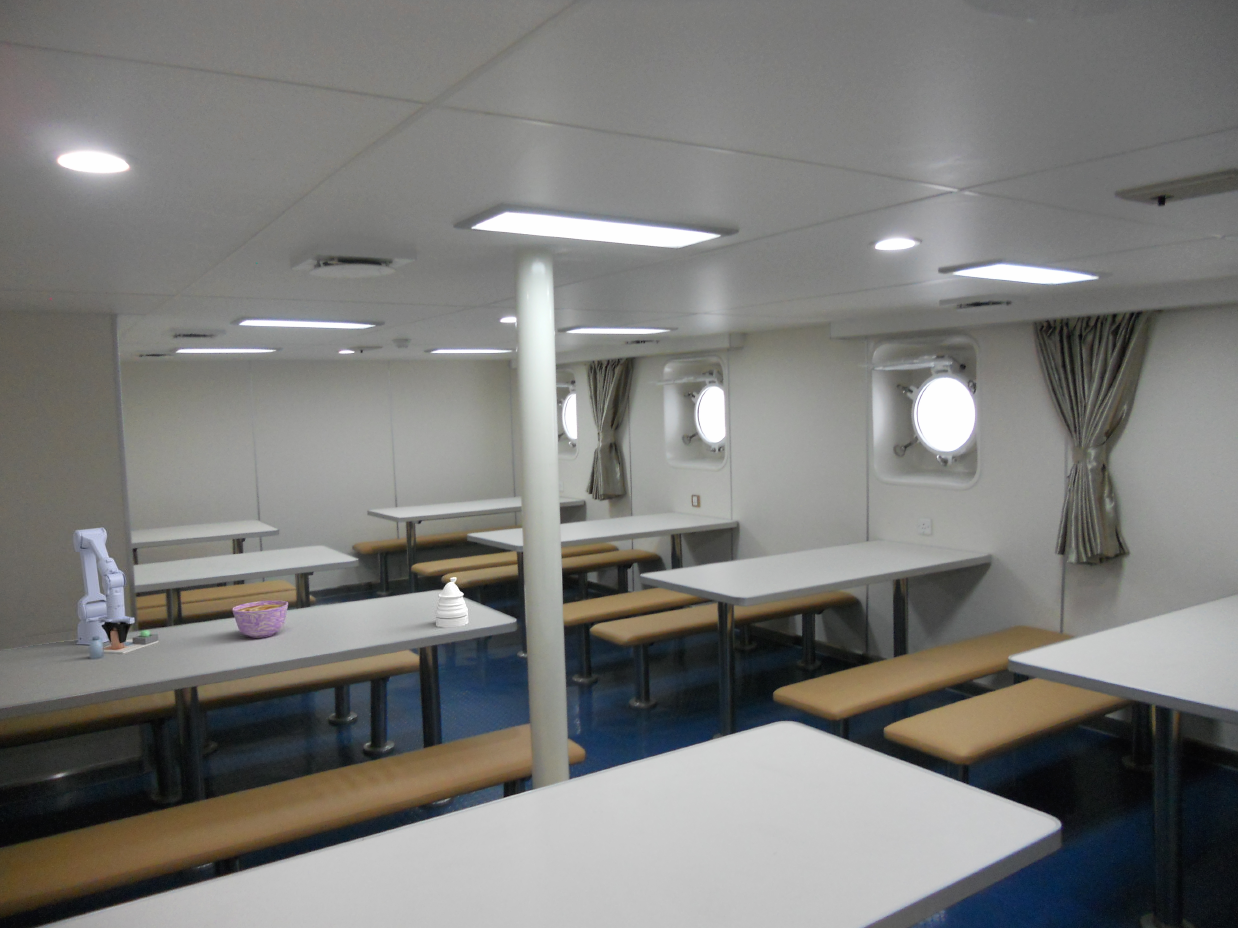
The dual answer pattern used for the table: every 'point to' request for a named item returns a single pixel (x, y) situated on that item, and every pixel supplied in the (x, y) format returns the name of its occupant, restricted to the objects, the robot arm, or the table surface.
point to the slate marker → (96, 648)
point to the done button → (145, 633)
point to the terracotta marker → (115, 640)
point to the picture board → (133, 644)
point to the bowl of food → (260, 617)
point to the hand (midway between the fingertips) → (117, 642)
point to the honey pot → (451, 607)
